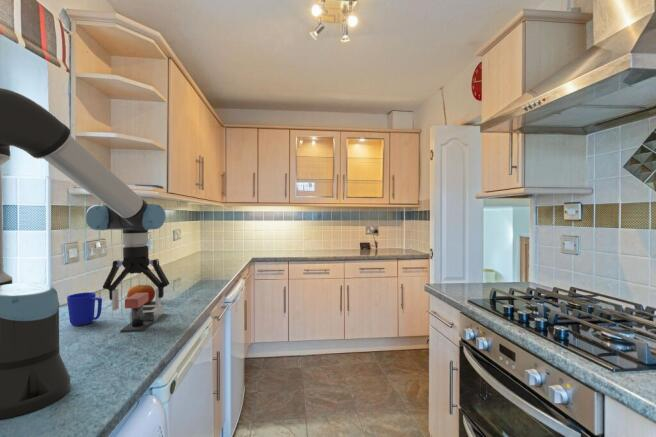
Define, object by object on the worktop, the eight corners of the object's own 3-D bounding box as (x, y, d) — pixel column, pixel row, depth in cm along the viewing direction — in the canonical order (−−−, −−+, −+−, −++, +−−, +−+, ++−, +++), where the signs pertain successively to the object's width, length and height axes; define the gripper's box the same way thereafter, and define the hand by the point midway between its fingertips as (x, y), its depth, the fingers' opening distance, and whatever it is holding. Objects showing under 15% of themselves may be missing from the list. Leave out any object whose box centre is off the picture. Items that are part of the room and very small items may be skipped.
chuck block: (153, 321, 123) (153, 312, 123) (129, 323, 122) (129, 313, 122) (163, 313, 133) (163, 304, 133) (141, 314, 132) (141, 305, 132)
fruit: (126, 303, 149) (126, 285, 148) (153, 300, 154) (153, 282, 154) (128, 309, 140) (127, 289, 140) (156, 305, 145) (156, 286, 145)
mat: (143, 330, 114) (143, 329, 114) (120, 332, 113) (120, 330, 113) (153, 322, 123) (153, 320, 122) (132, 323, 122) (132, 321, 122)
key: (148, 320, 122) (148, 292, 122) (138, 329, 113) (137, 298, 113) (136, 321, 122) (136, 292, 122) (125, 329, 113) (124, 299, 113)
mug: (91, 328, 117) (90, 298, 117) (61, 326, 119) (60, 297, 119) (111, 320, 125) (110, 293, 125) (82, 319, 127) (82, 291, 127)
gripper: (177, 243, 122) (179, 303, 123) (101, 245, 119) (103, 307, 120) (171, 245, 115) (172, 309, 115) (89, 247, 112) (91, 313, 112)
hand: (137, 308), depth 117 cm, fingers open, 13 cm apart
